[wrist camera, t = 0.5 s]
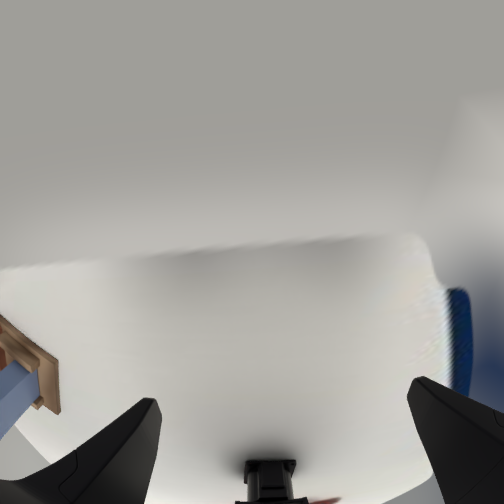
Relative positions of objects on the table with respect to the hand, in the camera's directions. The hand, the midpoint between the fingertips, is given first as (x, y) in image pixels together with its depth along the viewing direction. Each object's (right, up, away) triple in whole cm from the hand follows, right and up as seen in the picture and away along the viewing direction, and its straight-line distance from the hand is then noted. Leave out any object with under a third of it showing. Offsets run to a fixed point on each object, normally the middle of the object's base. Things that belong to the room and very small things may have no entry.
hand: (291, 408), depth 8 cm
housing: (-32, -11, +17) cm, 38 cm away
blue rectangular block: (-31, -11, +16) cm, 36 cm away
